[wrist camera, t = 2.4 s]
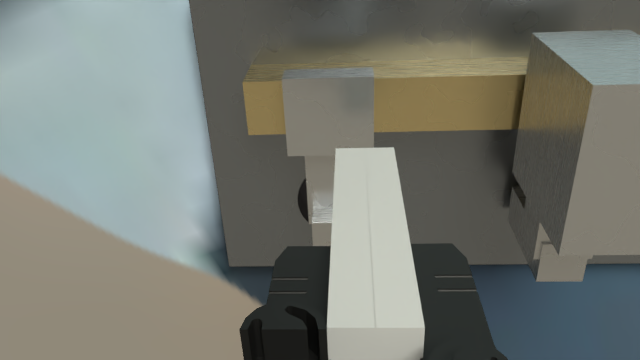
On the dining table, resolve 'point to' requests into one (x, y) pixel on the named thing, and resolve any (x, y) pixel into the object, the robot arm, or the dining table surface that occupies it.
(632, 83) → the block
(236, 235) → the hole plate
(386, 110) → the beam
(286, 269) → the robot arm
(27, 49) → the dining table surface
